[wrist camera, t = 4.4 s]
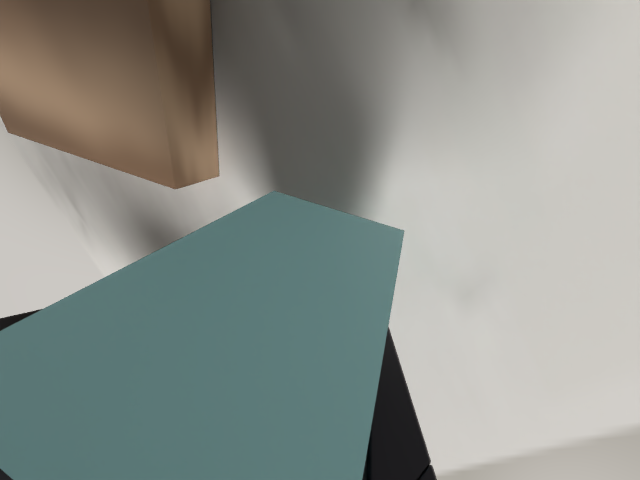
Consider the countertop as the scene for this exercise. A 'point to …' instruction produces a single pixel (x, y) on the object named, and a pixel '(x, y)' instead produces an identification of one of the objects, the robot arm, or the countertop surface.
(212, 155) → the wooden board
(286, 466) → the teal block
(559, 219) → the countertop surface
